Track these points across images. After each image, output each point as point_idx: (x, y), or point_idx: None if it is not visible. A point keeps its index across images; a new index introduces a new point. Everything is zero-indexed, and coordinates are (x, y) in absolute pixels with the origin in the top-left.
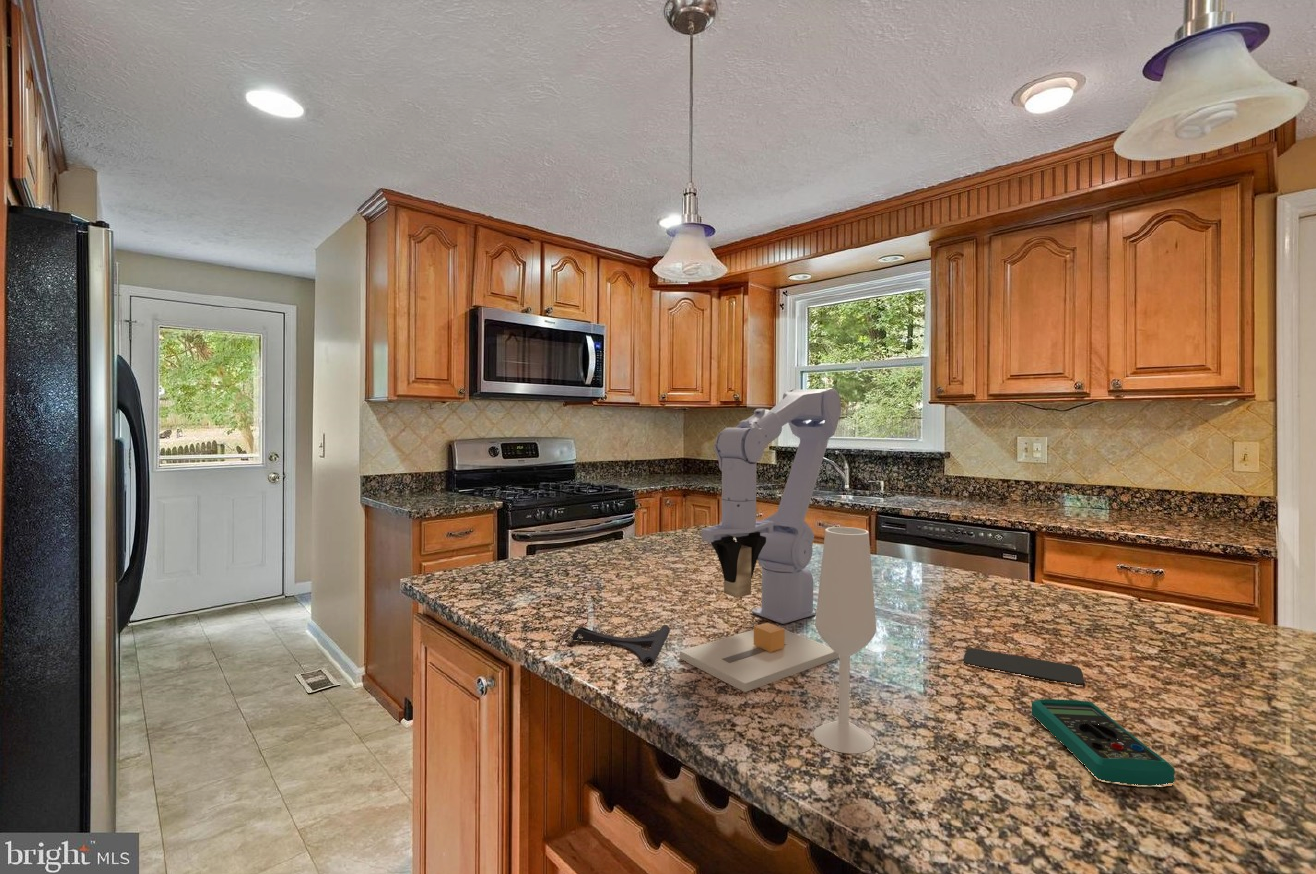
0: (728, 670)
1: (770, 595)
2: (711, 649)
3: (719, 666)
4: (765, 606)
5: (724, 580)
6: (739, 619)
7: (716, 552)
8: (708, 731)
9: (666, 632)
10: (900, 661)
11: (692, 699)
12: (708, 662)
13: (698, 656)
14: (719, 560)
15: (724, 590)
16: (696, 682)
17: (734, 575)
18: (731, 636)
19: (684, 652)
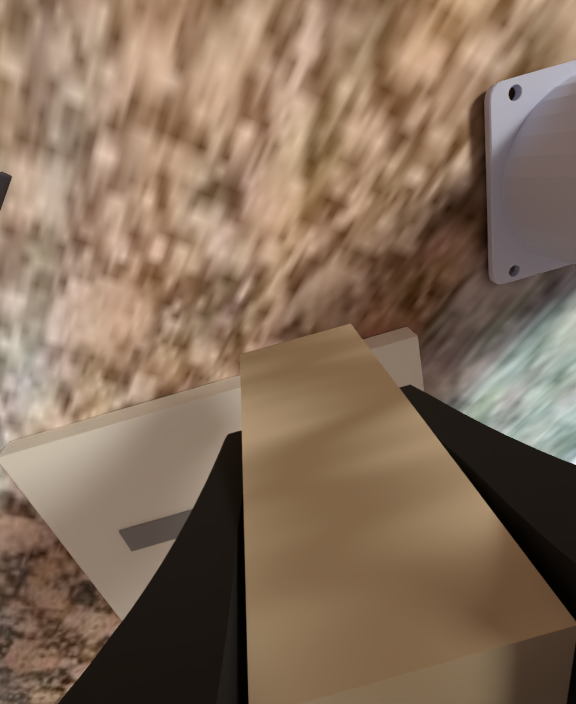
0: (112, 580)
1: (572, 219)
2: (110, 470)
3: (96, 562)
4: (527, 178)
5: (241, 400)
6: (385, 149)
7: (99, 660)
8: (14, 690)
9: None
10: None
11: (5, 615)
12: (72, 539)
13: (52, 504)
14: (166, 556)
15: (241, 365)
16: (32, 560)
17: None
18: (220, 395)
19: (10, 472)
